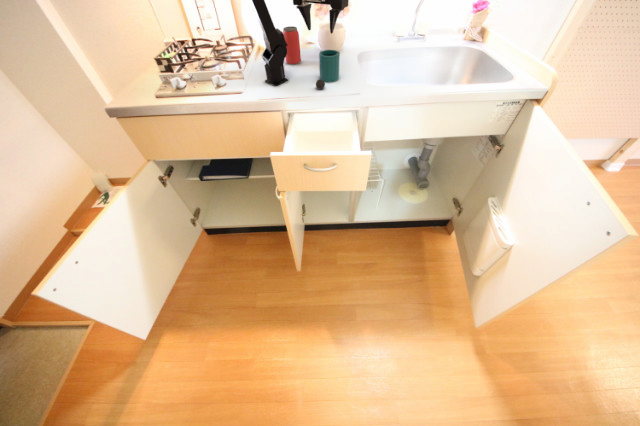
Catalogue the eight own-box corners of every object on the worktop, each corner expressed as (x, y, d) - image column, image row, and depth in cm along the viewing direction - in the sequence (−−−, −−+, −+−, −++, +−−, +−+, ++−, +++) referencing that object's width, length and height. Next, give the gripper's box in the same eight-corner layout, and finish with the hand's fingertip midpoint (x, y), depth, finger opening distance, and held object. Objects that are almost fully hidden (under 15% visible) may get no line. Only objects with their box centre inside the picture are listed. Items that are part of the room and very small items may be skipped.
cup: (349, 54, 108) (350, 27, 100) (323, 58, 105) (323, 32, 98) (337, 46, 115) (338, 20, 108) (314, 50, 112) (312, 24, 105)
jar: (330, 83, 89) (331, 58, 82) (316, 79, 92) (315, 54, 85) (342, 77, 92) (343, 52, 86) (327, 73, 95) (327, 48, 89)
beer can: (284, 60, 105) (279, 27, 96) (298, 58, 106) (295, 25, 97) (288, 66, 101) (284, 31, 92) (303, 63, 102) (300, 29, 93)
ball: (321, 91, 85) (320, 82, 83) (314, 89, 87) (313, 80, 84) (326, 88, 87) (326, 79, 84) (319, 86, 88) (319, 76, 86)
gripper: (357, -32, 76) (353, 28, 88) (307, -34, 82) (309, 23, 94) (342, -27, 70) (339, 37, 82) (289, -30, 76) (294, 30, 88)
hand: (320, 31), depth 87 cm, fingers open, 9 cm apart
